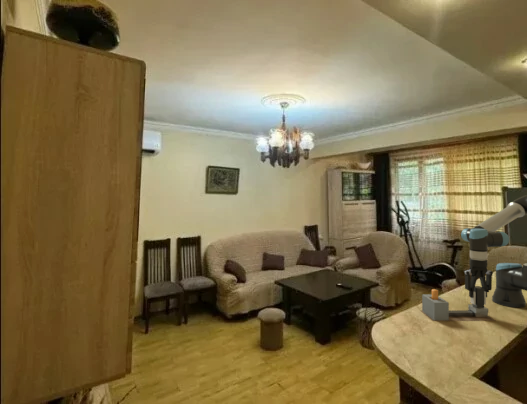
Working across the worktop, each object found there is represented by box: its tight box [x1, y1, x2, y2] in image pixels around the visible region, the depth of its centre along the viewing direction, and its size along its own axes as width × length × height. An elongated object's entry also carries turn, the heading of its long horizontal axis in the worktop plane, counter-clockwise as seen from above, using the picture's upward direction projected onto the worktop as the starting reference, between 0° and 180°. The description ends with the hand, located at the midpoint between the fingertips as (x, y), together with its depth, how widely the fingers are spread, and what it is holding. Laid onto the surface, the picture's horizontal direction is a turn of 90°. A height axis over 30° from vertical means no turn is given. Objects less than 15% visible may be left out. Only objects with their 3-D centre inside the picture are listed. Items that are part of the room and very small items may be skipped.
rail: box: [449, 309, 475, 317], centre depth 154 cm, size 22×3×2 cm, turn 88°
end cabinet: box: [421, 293, 450, 320], centre depth 155 cm, size 7×12×9 cm, turn 178°
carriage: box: [467, 285, 489, 317], centre depth 154 cm, size 6×6×14 cm
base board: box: [420, 310, 497, 322], centre depth 155 cm, size 31×13×1 cm, turn 88°
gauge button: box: [431, 288, 439, 300], centre depth 155 cm, size 3×3×8 cm
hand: (478, 303), depth 154 cm, fingers open, 4 cm apart
